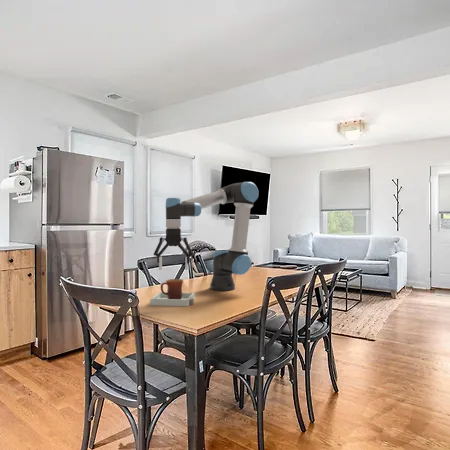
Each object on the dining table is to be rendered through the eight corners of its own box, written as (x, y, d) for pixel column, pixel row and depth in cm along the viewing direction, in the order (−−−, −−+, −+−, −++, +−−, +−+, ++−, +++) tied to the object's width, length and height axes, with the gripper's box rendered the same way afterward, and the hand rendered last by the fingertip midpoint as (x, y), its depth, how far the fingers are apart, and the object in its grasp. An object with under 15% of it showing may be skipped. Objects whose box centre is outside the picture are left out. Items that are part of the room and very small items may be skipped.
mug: (178, 297, 189) (178, 278, 189) (186, 300, 182) (186, 280, 181) (157, 300, 182) (157, 280, 182) (164, 303, 175) (164, 283, 175)
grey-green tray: (197, 298, 190) (197, 293, 190) (191, 306, 173) (191, 300, 173) (159, 297, 192) (159, 292, 192) (150, 305, 175) (150, 299, 175)
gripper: (198, 227, 184) (198, 268, 185) (151, 227, 187) (152, 268, 187) (196, 228, 177) (196, 270, 177) (147, 228, 179) (147, 270, 180)
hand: (173, 269), depth 182 cm, fingers open, 13 cm apart
